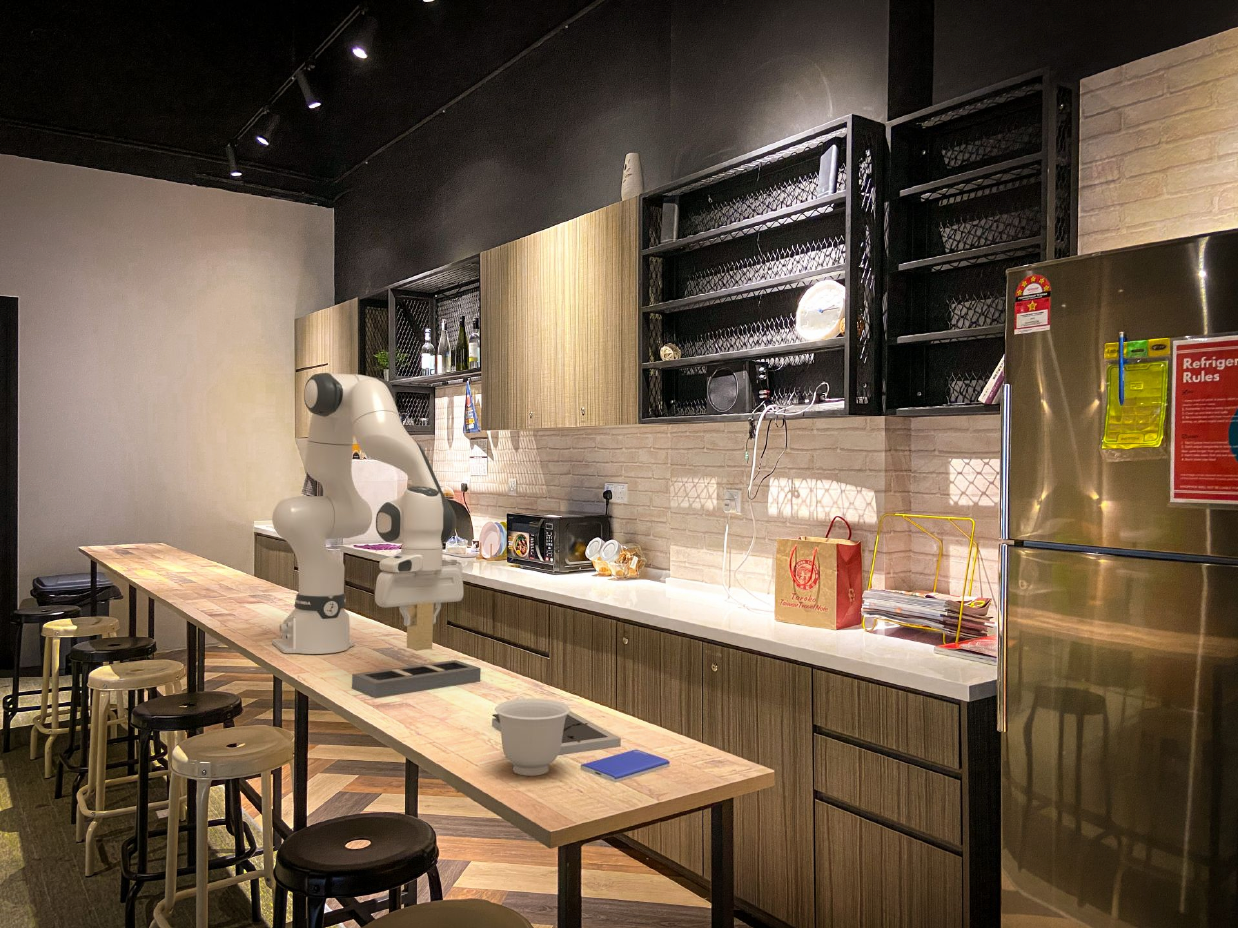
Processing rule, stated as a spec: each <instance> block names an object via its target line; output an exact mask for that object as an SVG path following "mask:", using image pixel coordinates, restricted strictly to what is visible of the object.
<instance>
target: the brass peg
mask: <svg viewBox="0 0 1238 928" xmlns="http://www.w3.org/2000/svg"><path fill="white" fill-rule="evenodd" d="M433 604H434V603H422V604H416V605H410V610H409V611H408V613H409V615H410V617H411V618H414V625H413V626H408V627H407V626H406V628H407V629H406V649H409V650H413V651H417V652H418V651H425V650H432V649H433V631H434V624H433Z"/></svg>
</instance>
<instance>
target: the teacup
mask: <svg viewBox="0 0 1238 928" xmlns="http://www.w3.org/2000/svg"><path fill="white" fill-rule="evenodd" d="M494 711H495V713H497V714H498V715H499V719H500V726H501V732H500V735H501V745H502V746H501V747H502V752H503V755H504V757H505V758H506V759H507V761H509V762H510V763H511V764H513V768H512V771H513V773H515V774H518V775H521V776H525V777H526V776H527V777H533V776H535V777H536V776H543V775H545V774H547V773H548V772H549V770H550V767H549V765H550V764H551V763H553V762H554V761H555V760H556V759H557V758H558V756H559V755H558V754H559V752H560V748H561V743H562V736H563V729H564V723H565V719H566V716H567V714H568V713H569V712H570V711H571V708H570V707H569V705H568V704H566V703H564V702H561V701H558V700H553V699H545V698H525V697H523V696H522V697H521V696H520V697H517V698H516V699H511V700H507V701H503V702H501V703H499V704H498V705H496V706H495V709H494Z"/></svg>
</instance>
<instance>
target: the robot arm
mask: <svg viewBox="0 0 1238 928" xmlns="http://www.w3.org/2000/svg"><path fill="white" fill-rule="evenodd" d="M303 391H304V392H303V399H304V404H305V407H306V408H307V409H308V411H309V412H310V413H311V414H312V415H311V417H310V423H309V425H308V426H309V427H308V433H307V434H308V435H307V445H306V455H305V466H304V467H305V471H306V473H307V474H308V476H310V478H312V479H313V480H314V481H316V482H318V483H320V485H321V487H322V492H323V493H322V495H321V496H318V495H316V496H315V495H314V496H313V495H309V496H306V495H305V496H304V495H302V496H294V497H289V498H285V499H282V500H280V501H279V502H278V503H277V504H276V506H275V508H274V510H273V512H272V516H271V517H272V521H271V522H272V525H273V528H274V531H275V532H276V534H278V536H279V537H280V538H282V539H283V540H285V542H287V544H288V545H289V546H290V547H291V549H292V551H293V553H294V555H295V558H296V562H297V568H298V593H297V594H295V596H296V597H295V600H294V606H293V607H294V609H293V610H292V612H290V613H289V615H287V617H286V618H285V619H284V620H283V623H280V624H279V629H278V630H279V634H281V637H277V638H274V639H272V644H273V645H274V646H275V647H276V648H277V649H278V650H279V651H281V653H283V654H303V655H306V654H307V655H322V654H334V653H340V652H344V651H347V650H348V649H349V648H351V647H354V646H355V640H351V627H350V626H351V625H350V624H351V623H350V615H349V613H348V612H347V611H346V610H345V607H346V601H347V599H346V593H345V569H346V568H345V567H346V566H345V564H344V563H343V560H342V559H341V558H340V557H338V555H335V554H333V553H332V552H329V550H328V548H327V543H326V540H331V539H332V540H333V539H334V540H335V539H336V540H337V539H340V540H341V539H349V538H350V539H351V538H354V537H358V536H359V537H360V536H361V535H365V534H366V533H367V532H368V531H369V529H370V527H371V525H372V521H373V512H372V509H371V506H370V504H369V503H368V502H367V501H366V500H365V499H364V498H363V497H362V496H361V495H360V494H359V492H358V490H357V488H356V485H355V483H354V481H353V474H352V462H353V461H352V460H353V458H352V457H353V447H354V445H353V444H354V440H355V442H356V443H357V445H358V447H359V449H360V450H361V452H362V453H363V454H364V455H366V456H367V457H369V458H371V459H373V460H375V461H378V462H381V463H384V464H386V465H390V466H391V467H394V468H396V469H399V471H402V472H403V473H405V474H406V475H407V476H408V477H409V479H410V480H411V484H412V486H410V487H408V488H406V489H405V491H404V493H403V495H401V496H399V497H398V498H396V499H393V500H391V501H387V502H385V503H383V504H382V505H381V506H380V507H379V509H378V511H377V513H376V517H375V530H376V532H377V534H378V536H379V537H380V538H381V540H383V541H384V542H386V543H388V544H389V543H390V544H401V547H400V548H401V549H400V551H401V552H399V553H397V554H394V555H392V556H389V557H387V558H384V559H383V558H382V559H381V560H380V561H379V569H380V571H381V572H379V574H378V575H377V578H376V582H375V583H376V584H375V590H374V591H375V592H374V600H375V603H376V605H377V606H379V607H381V608H395V607H397V608H398V607H399V610H398V611H399V612H400V614H401V615H402V617H403V626H404V627H406V628H407V627H408V626H413V625H414V618H411V617H410V615H409V613H408V611H409V610H410V605H416V604H422V603H434V604H433V625H435V624H436V622H437V616H438V614H439V612H440V610H441V608H442V604H443V603H444V604H445V603H454V602H461V601H462V599H463V598H464V580H463V564H462V563H461V562H459V561H458V560H457V559H450V560H447V559H443V548H444V547H443V544H444V543H445V542H447V541H448V540H449V539H450V538H451V537H452V536H453V534H454V533H455V530H456V529H457V528H456V527H457V524H458V522H457V520H458V519H457V515H456V513H455V510H454V509H453V507H452V505H451V504H450V502H449V501H448V499H447V497H446V496H445V494H444V493H443V492H444V491H443V490H442V488H441V486H440V483H439V481H438V479H437V477H436V474H435V472H434V470H433V468H432V466H431V463H430V461H429V460H428V457H427V455H426V453H425V452H424V451H425V450H424V449H423V448H422V446H421V444H420V443H418V442H417V441H416V440H414V438H412V437H411V435H410V434H409V433H408V431H407V430H406V429H405V427H404V425H403V423H402V420H401V417H400V415H399V411H398V407H397V405H396V403H395V400H396V399H395V390H394V389H393V386H392V384H391V382H389V381H388V380H386V379H384V378H380V377H377V376H373V377H372V376H368V375H363V374H356V373H349V374H348V373H329V372H320V373H315V374H313V375H311V376H310V377H309V378H308V379H307V382H306V384H305V385H304V390H303ZM354 438H355V439H354Z"/></svg>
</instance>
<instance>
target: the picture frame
mask: <svg viewBox="0 0 1238 928" xmlns="http://www.w3.org/2000/svg"><path fill="white" fill-rule="evenodd" d="M491 716H492V717H493V718H492V719H491V726H492V727H493V728H494V729H496V730H497V731H499V732H500V733H501V726H500V719H499V715H498V713H497V714H496V713H495V714H492V715H491ZM621 741H622V738H621V737H620V736H618V735H616V734H614V733H612V732H611V731H608V730H607V729H605V728H603V727H601V726H599V725H598V724H596V723H594V722H592V721H590V720H588V719H586V718H584V717H582V716H581V715H579V714H578V713H575V712H573V711H572V710H570V712H569V713H568V714H567V716H566V719H565V723H564V729H563V736H562V743H561V748H560V752H559V754H558V756H563V755H569V754H577V753H583V752H591V751H598V750H599V751H600V750H604V749H605V750H606V749H612V748H613V749H614V748H619V747H621V744H622V742H621Z"/></svg>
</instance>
